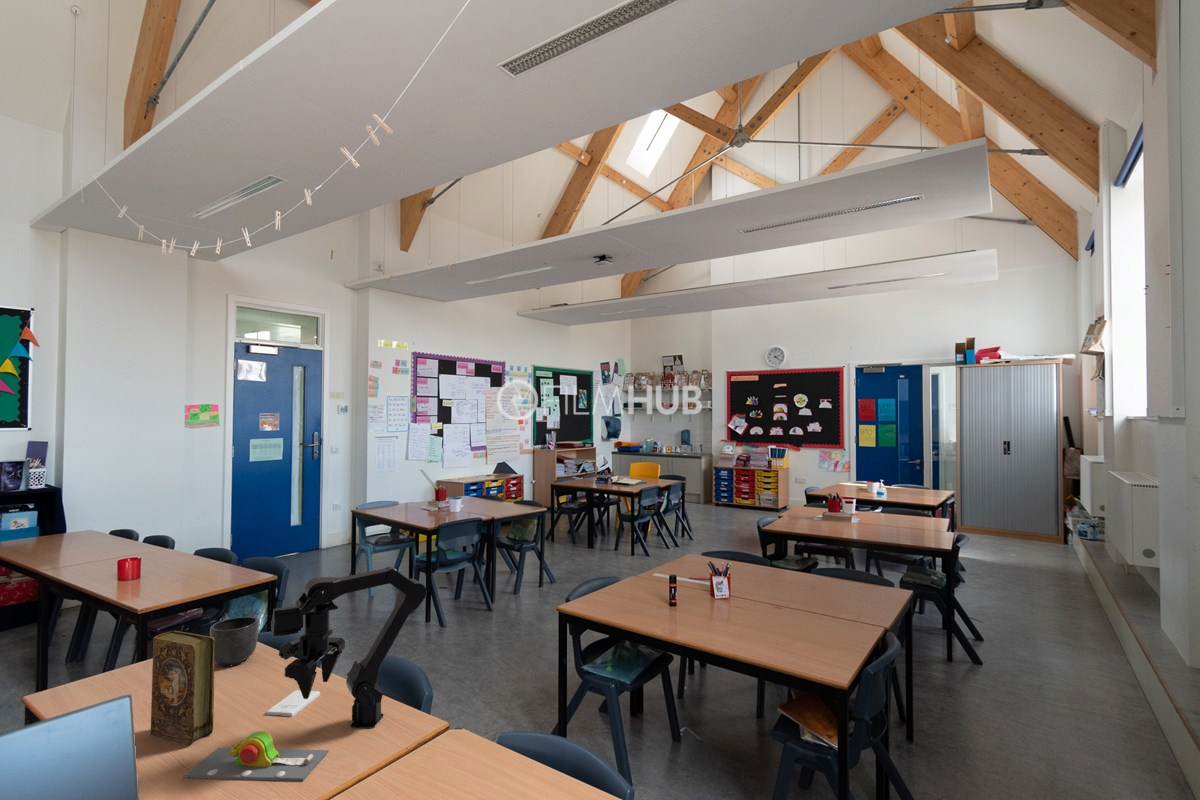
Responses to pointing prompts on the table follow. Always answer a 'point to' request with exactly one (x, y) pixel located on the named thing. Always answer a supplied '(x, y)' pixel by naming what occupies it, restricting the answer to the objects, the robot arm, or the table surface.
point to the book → (182, 686)
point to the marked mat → (225, 767)
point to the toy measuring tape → (262, 752)
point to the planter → (234, 639)
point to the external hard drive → (292, 704)
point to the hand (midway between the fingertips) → (315, 689)
